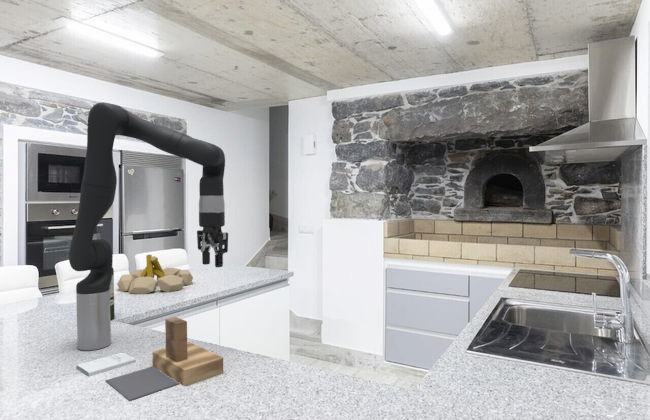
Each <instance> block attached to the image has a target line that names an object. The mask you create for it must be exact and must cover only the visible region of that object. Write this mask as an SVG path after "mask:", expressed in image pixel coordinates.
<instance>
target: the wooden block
mask: <svg viewBox="0 0 650 420" xmlns="http://www.w3.org/2000/svg"><path fill="white" fill-rule="evenodd" d="M151 354H152V356H151V357H152V358H151V359H152V367H154V368H156V369H157V370H159V371H160V372H162V373H164V374H165V375H167V376H168V377H170V378H172V379H173V380H175V381H176V382H178V383H179V384H180V385H182V386H184V387H186V386H189V385H192V384H195V383H198V382H201V381H204V380H206V379H208V378H213V377H215V376H218V375H220V374H223V373H224V357H222V356H221V355H218V354H216V353H214V352H212V351H209V350H208V349H206V348H204V347H201V346H199V345H197V344H194V343H193V342H191V341H187V359H186V360H183V361H180V362H175V361H173V360H172V359H170V358H168V357H166V347H164V348H161V349H158V350H154V351H153V350H152V352H151Z"/></svg>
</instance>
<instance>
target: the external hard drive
mask: <svg viewBox="0 0 650 420" xmlns="http://www.w3.org/2000/svg"><path fill="white" fill-rule="evenodd" d="M134 362H135V363H136V358H135V357H133V356H131V355H129V354H126V353H124V352H120V353H115V354H112V355H109V356H105V357H101V358H97V359H94V360H89V361H86V362H82V363H79V364H76V367H75V368H76V370H78V371H80V372H81V373H82V374H84V375H86V376H88V377H92V376H96V375H98V374H102V373H104V372H109V371H112V370H116V369H117V368H121V366H122V367H124V365H125V366H128V365H131V364H134ZM127 364H128V365H127Z"/></svg>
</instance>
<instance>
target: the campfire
mask: <svg viewBox="0 0 650 420" xmlns="http://www.w3.org/2000/svg"><path fill="white" fill-rule="evenodd" d="M145 256H146V258H145V259H146V267H145V268H141V269H136V270H135V271H133V272H131V273H130V274H121V277H120V278H119V280H118V281H117V283H116V285H117V287H118V288H119V290H120V291H121V292H128V294H129V293H130V294H134V295H147V294H150V293H152V292H154V291H156V290H157V285H158V287H159V290H161V291H163V292H165V293H172V292H177V291H178V292H179V291H180V290H181V289H182V288H184V286H189V285H191V283H192V281H193V279H194V276H193V275H192V273H191V272H190V270H189V269H181V268H175V267H165V268H162V266H161V264H160V262H159V260H158V259H159V258H158V257H156V256H155V255H154V256H153V255H152V254H147V255H145ZM155 277H156V279H155Z"/></svg>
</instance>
